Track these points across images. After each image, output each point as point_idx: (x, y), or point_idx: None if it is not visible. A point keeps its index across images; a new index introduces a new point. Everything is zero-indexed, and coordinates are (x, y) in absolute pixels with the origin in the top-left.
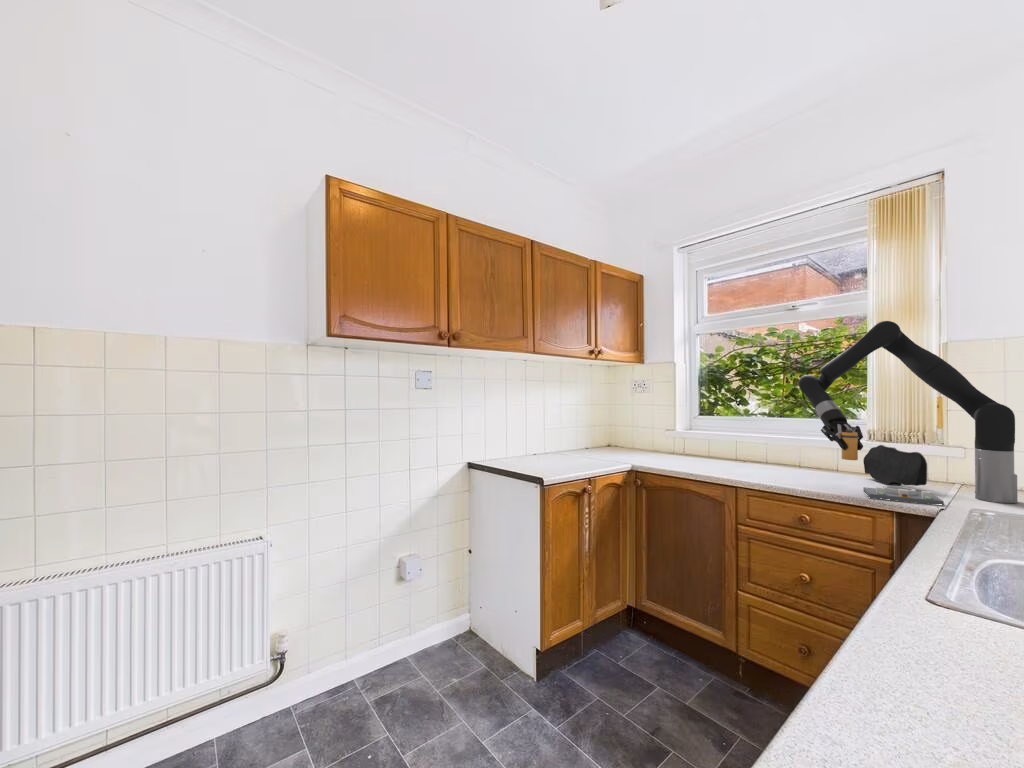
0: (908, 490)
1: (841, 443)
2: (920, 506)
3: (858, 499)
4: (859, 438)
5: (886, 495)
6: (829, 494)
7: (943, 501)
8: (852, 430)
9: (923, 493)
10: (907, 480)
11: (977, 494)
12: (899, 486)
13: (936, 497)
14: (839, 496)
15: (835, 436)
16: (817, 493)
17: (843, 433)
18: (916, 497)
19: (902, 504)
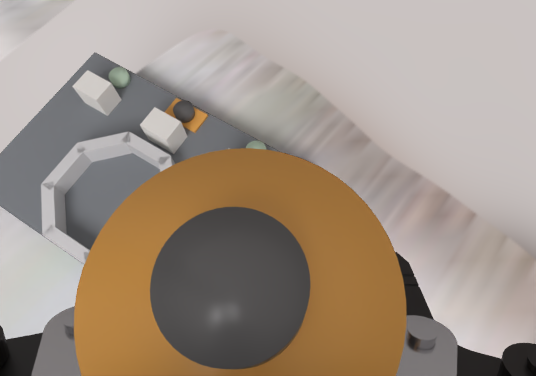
0: (116, 143)
1: (415, 283)
2: (205, 55)
3: (379, 155)
4: (31, 342)
5: (248, 138)
6: (463, 257)
7: (95, 53)
8: (196, 222)
9: (111, 86)
10: None
11: None
12: (56, 240)
13: (47, 110)
14: (435, 212)
15: (524, 357)
16: (521, 281)
17: (395, 286)
18: (140, 107)
19: (250, 80)
